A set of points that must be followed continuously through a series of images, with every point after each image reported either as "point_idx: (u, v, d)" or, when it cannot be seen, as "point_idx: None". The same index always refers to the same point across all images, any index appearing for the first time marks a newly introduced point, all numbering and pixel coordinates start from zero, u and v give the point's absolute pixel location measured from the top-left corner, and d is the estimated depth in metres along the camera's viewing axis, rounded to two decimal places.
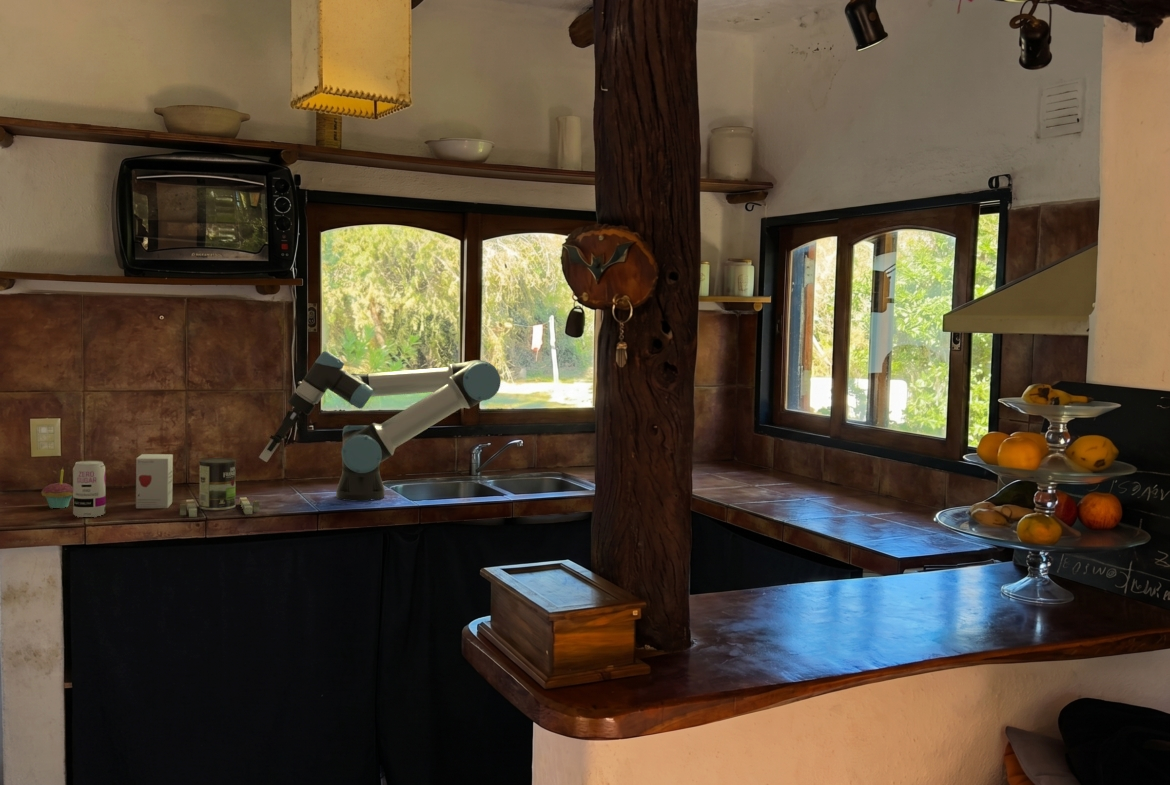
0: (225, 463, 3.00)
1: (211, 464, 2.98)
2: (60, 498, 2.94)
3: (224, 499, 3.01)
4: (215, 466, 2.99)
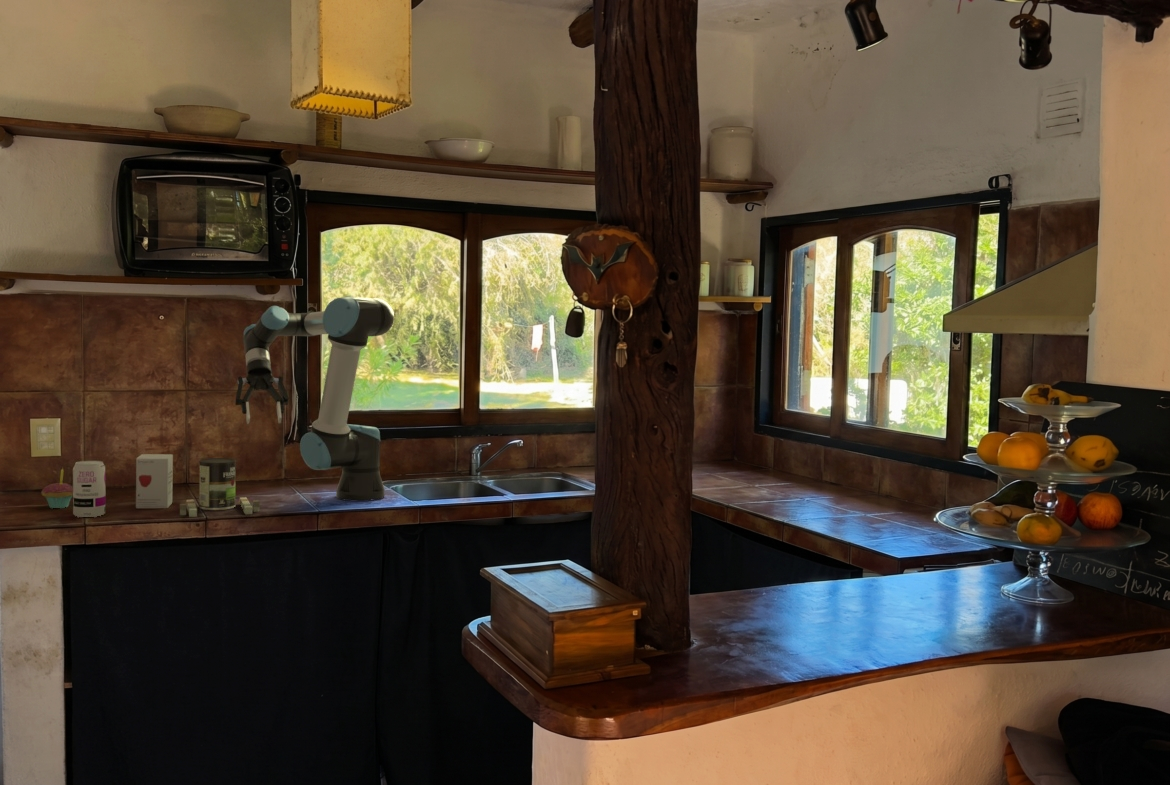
0: (225, 463, 3.00)
1: (211, 464, 2.98)
2: (60, 498, 2.94)
3: (224, 499, 3.01)
4: (215, 466, 2.99)
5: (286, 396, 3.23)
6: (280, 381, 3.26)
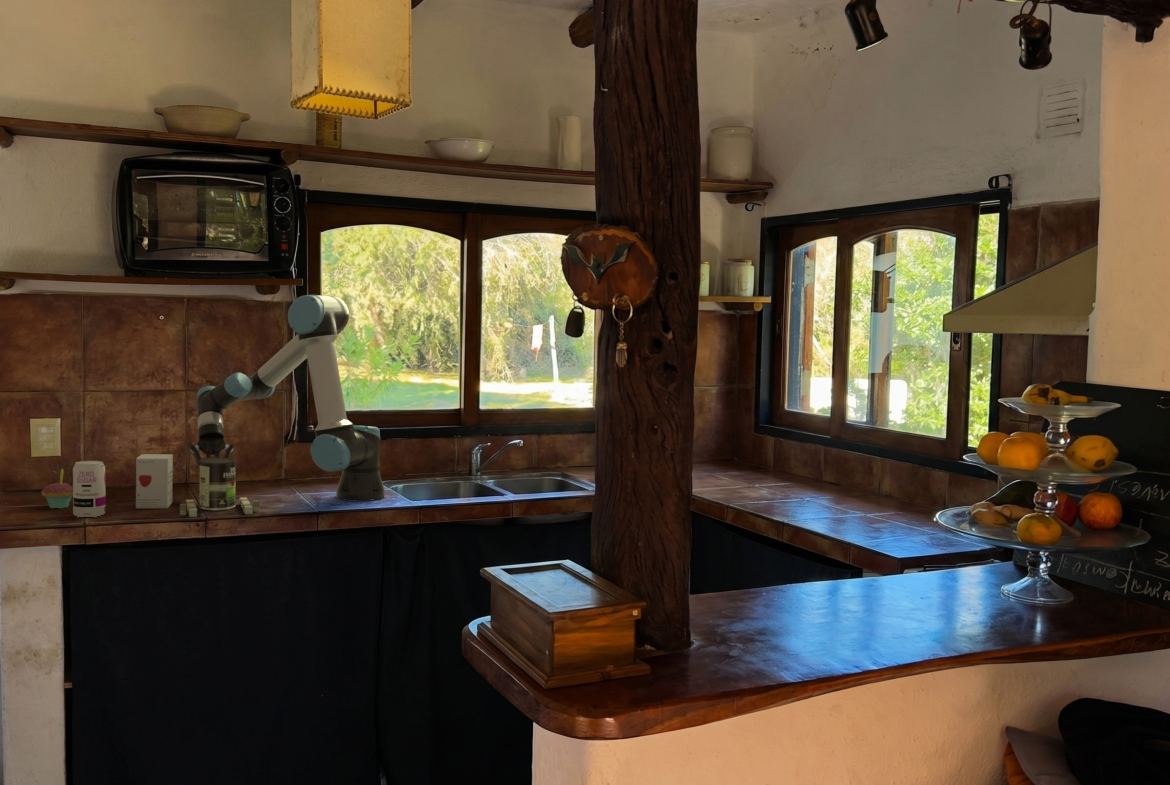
0: (225, 463, 2.99)
1: (211, 464, 2.97)
2: (60, 498, 2.94)
3: (225, 499, 3.00)
4: (215, 466, 2.98)
5: None
6: (229, 449, 3.18)
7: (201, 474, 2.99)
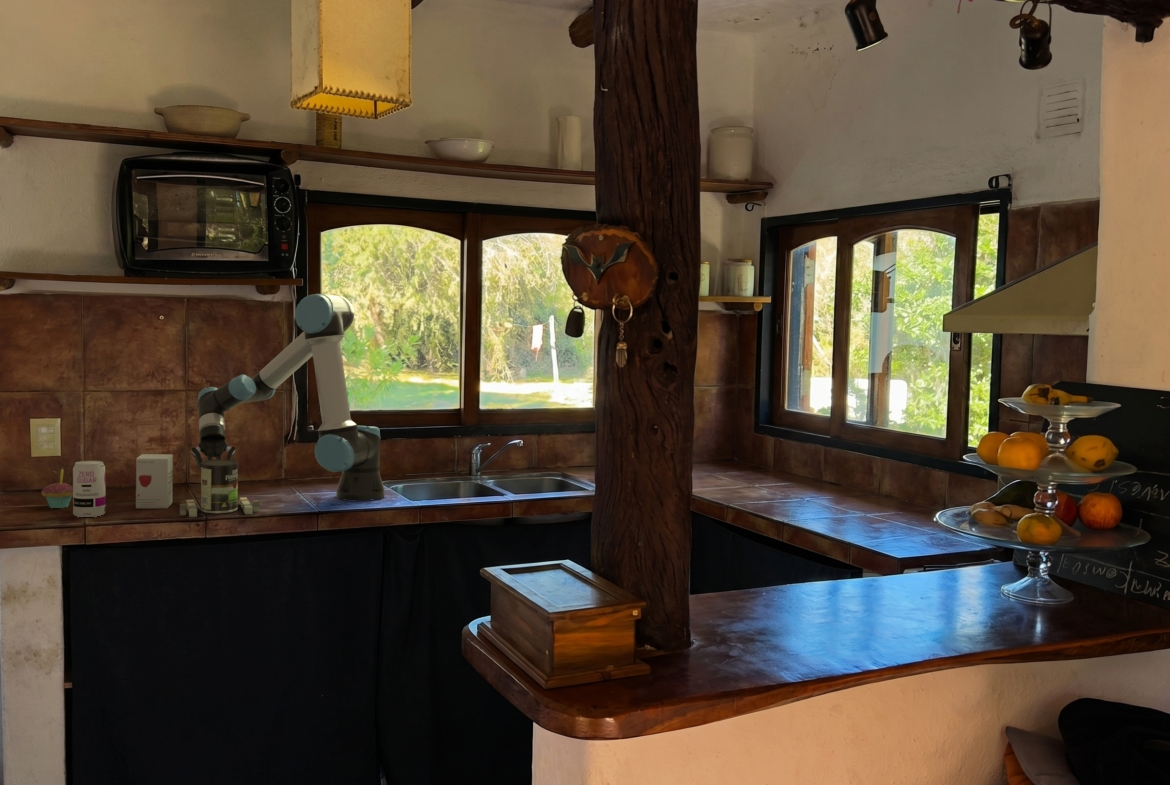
0: (227, 466, 2.95)
1: (213, 467, 2.93)
2: (60, 498, 2.94)
3: (227, 502, 2.96)
4: (217, 468, 2.94)
5: None
6: (230, 451, 3.14)
7: (203, 476, 2.95)
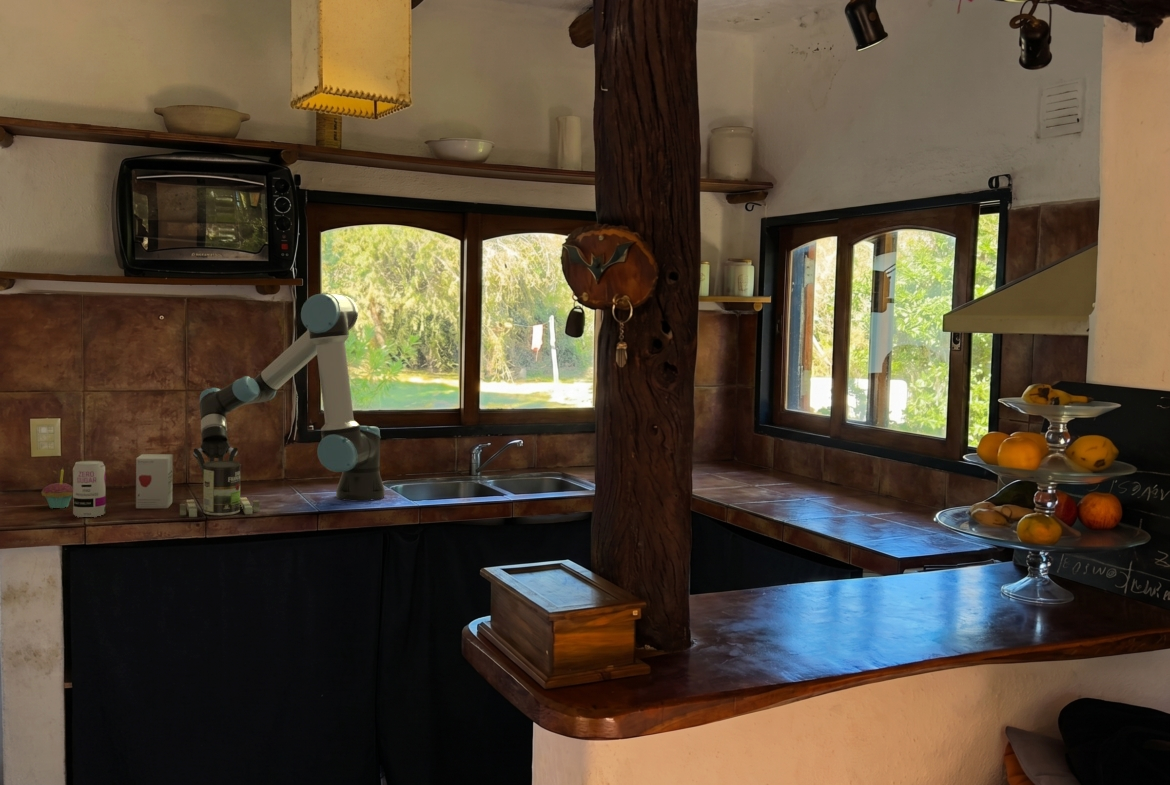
0: (230, 467, 2.92)
1: (216, 469, 2.90)
2: (60, 498, 2.94)
3: (229, 504, 2.93)
4: (220, 470, 2.91)
5: None
6: (233, 452, 3.11)
7: (205, 478, 2.92)
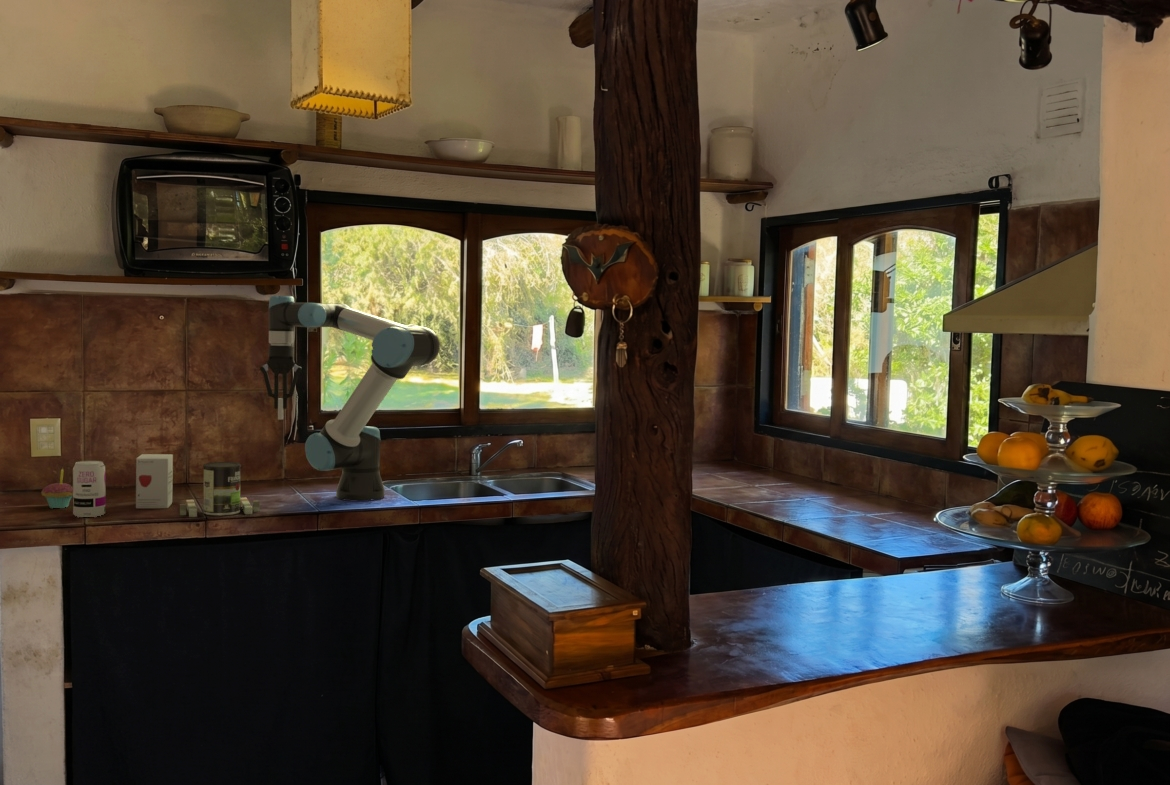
0: (230, 467, 2.93)
1: (215, 468, 2.91)
2: (60, 498, 2.94)
3: (229, 504, 2.93)
4: (219, 470, 2.91)
5: (291, 392, 3.24)
6: (296, 372, 3.23)
7: (205, 478, 2.93)
